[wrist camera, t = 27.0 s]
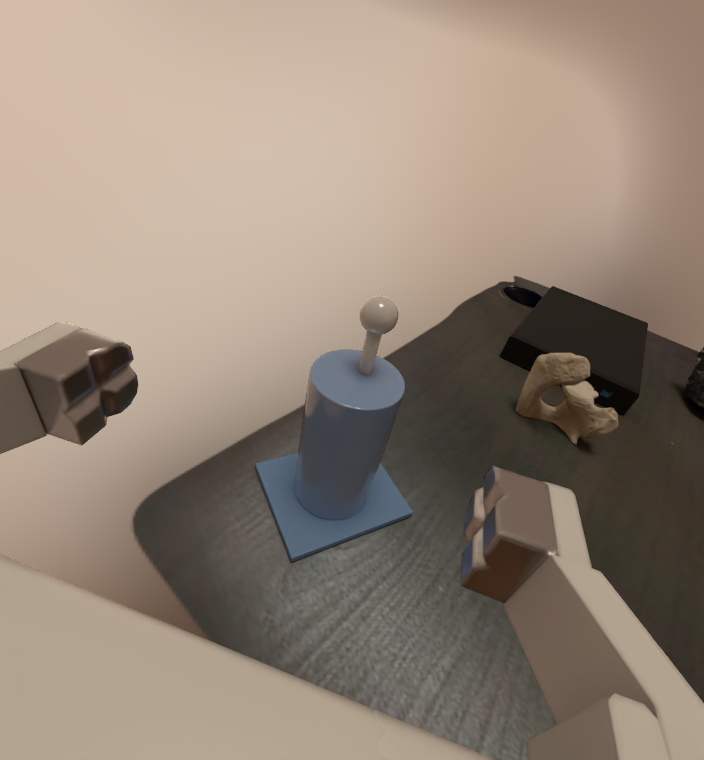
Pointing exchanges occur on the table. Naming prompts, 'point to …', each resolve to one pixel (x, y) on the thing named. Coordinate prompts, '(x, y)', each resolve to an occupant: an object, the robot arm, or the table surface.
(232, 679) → the robot arm
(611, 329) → the external hard drive
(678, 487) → the table surface
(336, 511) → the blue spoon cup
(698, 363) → the rock
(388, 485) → the blue mat
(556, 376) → the bone
